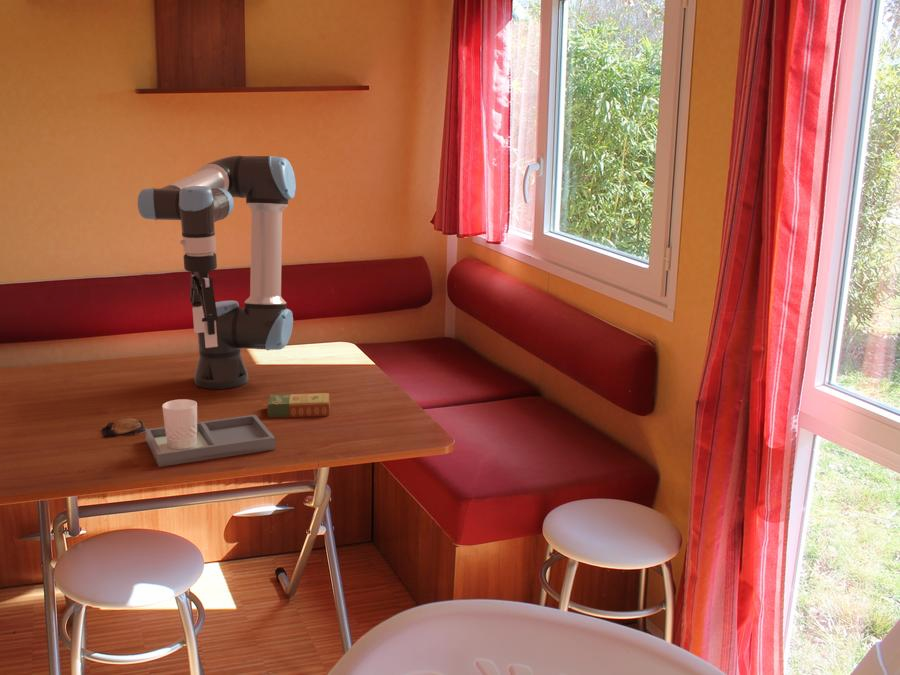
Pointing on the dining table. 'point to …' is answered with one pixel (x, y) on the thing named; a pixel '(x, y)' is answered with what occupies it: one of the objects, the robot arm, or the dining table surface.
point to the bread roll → (123, 428)
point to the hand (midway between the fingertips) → (205, 339)
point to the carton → (299, 405)
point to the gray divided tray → (213, 441)
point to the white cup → (180, 423)
